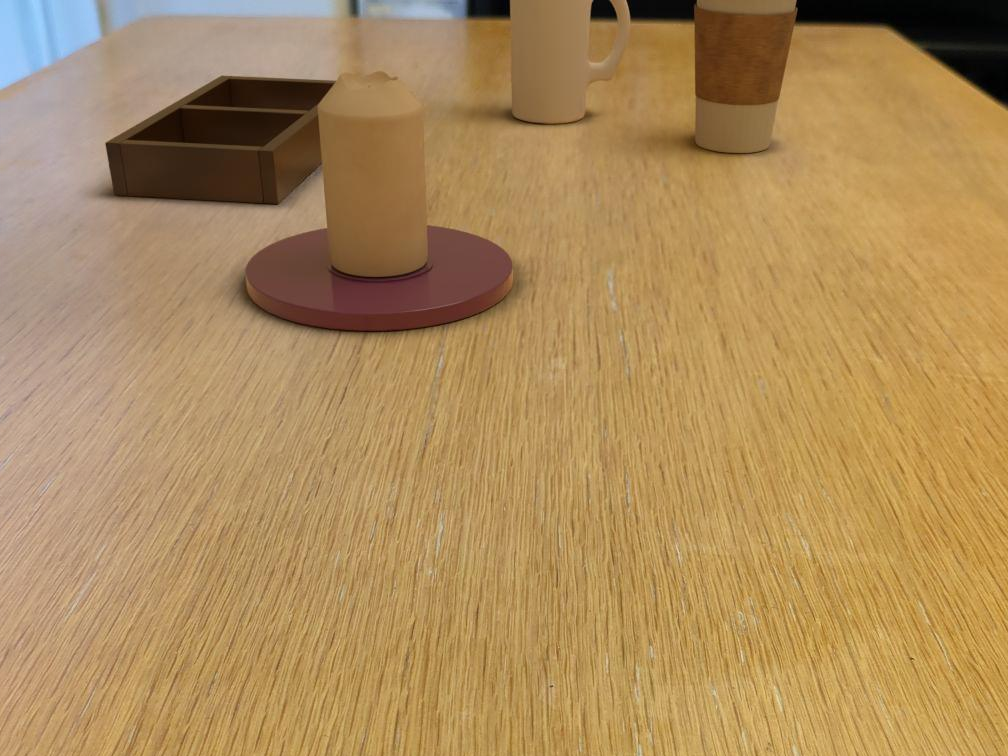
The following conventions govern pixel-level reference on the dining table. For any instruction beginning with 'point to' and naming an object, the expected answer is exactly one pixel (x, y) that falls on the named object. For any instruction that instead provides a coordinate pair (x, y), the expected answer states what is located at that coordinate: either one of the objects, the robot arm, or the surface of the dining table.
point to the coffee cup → (739, 71)
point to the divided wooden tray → (224, 142)
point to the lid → (379, 284)
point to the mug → (557, 57)
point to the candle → (374, 176)
